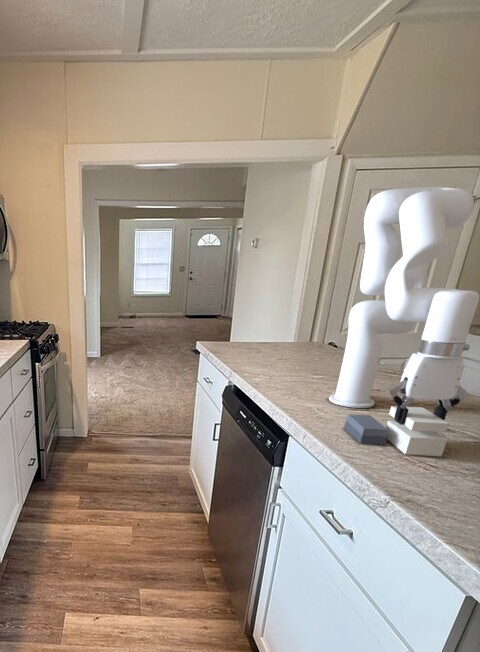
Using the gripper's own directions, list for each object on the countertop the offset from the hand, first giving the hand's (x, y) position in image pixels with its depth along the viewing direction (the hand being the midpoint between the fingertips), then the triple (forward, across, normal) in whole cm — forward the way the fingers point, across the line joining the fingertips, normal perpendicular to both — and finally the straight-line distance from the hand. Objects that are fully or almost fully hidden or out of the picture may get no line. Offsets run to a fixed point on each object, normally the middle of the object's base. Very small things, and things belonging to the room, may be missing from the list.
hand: (417, 423), depth 96 cm
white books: (+6, 0, 0) cm, 6 cm away
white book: (0, 0, -1) cm, 1 cm away
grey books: (+6, +8, -5) cm, 12 cm away
